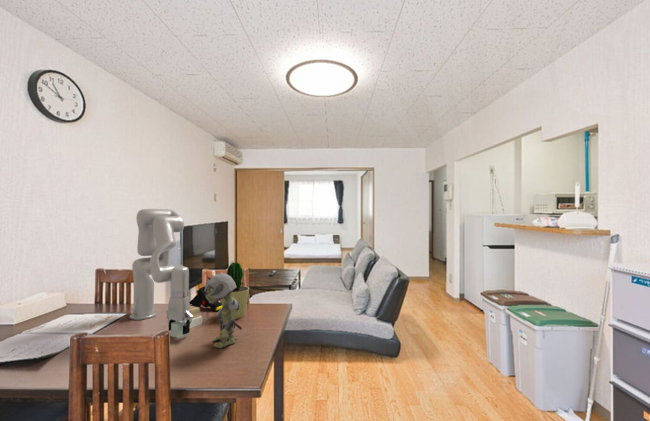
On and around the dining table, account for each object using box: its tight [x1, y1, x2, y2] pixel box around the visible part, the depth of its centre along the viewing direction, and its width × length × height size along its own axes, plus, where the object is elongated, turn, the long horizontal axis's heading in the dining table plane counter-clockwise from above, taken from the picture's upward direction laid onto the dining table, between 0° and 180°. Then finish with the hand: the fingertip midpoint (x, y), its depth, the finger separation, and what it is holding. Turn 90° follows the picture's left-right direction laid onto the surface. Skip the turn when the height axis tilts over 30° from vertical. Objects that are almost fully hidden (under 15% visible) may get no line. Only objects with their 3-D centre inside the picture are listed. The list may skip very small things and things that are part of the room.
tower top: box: [190, 306, 201, 319], centre depth 154 cm, size 6×6×4 cm
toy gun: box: [189, 285, 222, 312], centre depth 180 cm, size 5×18×12 cm
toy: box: [204, 273, 243, 349], centre depth 133 cm, size 15×16×30 cm
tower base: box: [185, 315, 203, 329], centre depth 154 cm, size 8×8×4 cm
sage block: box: [170, 321, 188, 339], centre depth 140 cm, size 5×5×6 cm
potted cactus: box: [220, 261, 250, 320], centre depth 169 cm, size 15×15×30 cm
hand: (178, 331), depth 140 cm, fingers open, 9 cm apart
